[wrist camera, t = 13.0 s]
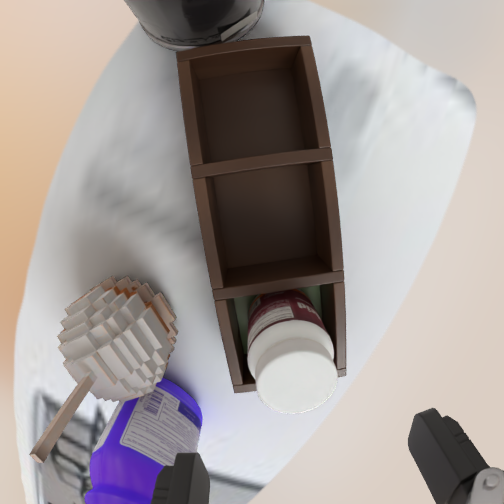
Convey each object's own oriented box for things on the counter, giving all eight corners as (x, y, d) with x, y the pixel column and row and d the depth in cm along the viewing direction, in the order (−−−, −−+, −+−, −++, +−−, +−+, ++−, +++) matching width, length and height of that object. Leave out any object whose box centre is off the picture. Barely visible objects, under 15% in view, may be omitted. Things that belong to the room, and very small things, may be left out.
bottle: (118, 389, 25) (43, 539, 8) (151, 358, 24) (71, 538, 7) (177, 432, 26) (144, 586, 9) (215, 407, 25) (196, 586, 8)
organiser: (190, 76, 19) (175, 51, 14) (297, 62, 19) (309, 35, 14) (236, 356, 24) (234, 393, 19) (330, 342, 24) (346, 375, 19)
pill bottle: (324, 322, 22) (359, 392, 14) (268, 352, 23) (277, 431, 14) (294, 270, 21) (322, 326, 13) (234, 303, 22) (228, 373, 13)
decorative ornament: (74, 298, 22) (-45, 401, 8) (144, 257, 22) (15, 371, 7) (124, 371, 24) (54, 504, 9) (196, 342, 23) (152, 507, 9)
